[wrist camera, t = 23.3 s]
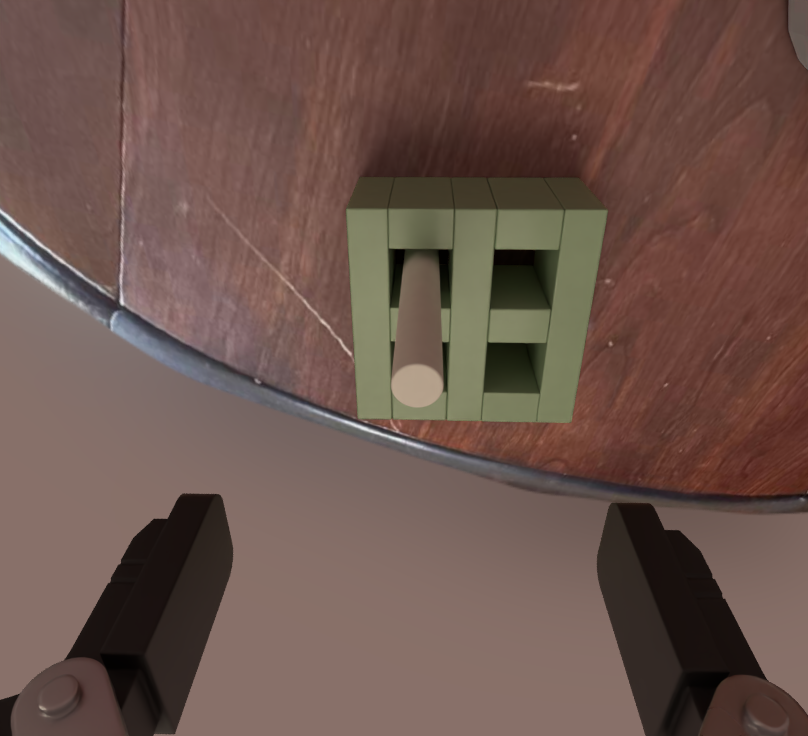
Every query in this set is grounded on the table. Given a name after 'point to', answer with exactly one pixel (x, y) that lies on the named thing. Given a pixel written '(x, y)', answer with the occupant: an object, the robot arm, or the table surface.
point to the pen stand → (478, 291)
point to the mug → (799, 28)
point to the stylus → (419, 331)
